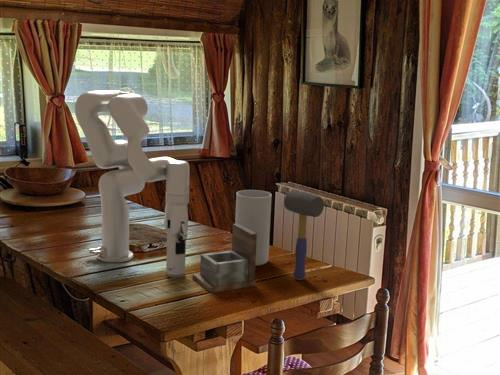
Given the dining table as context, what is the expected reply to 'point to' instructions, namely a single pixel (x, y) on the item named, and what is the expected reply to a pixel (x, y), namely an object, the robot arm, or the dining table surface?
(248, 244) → the post holder
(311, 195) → the rubber mallet
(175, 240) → the travel mug
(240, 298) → the dining table surface
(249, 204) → the cylinder vase
